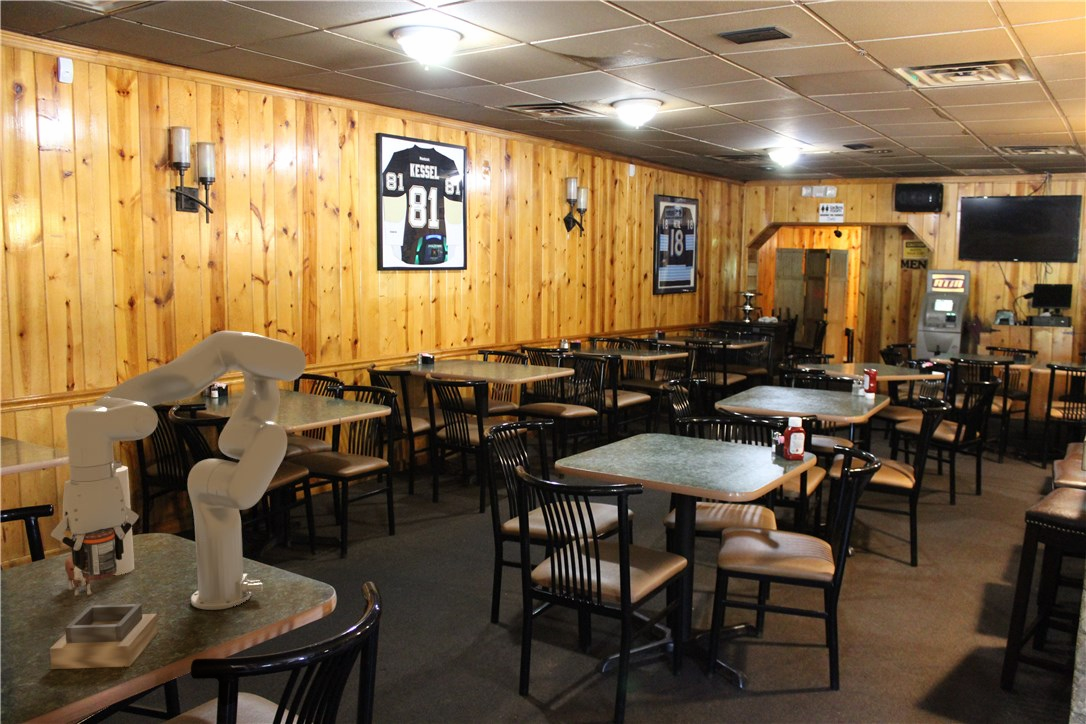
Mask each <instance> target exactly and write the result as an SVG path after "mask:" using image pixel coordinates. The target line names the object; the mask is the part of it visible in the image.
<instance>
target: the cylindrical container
mask: <svg viewBox="0 0 1086 724" xmlns="http://www.w3.org/2000/svg"><path fill="white" fill-rule="evenodd" d="M115 474H117V475H118V476H119V479H120V482H121V486H122V490H123V494H124V500H125V506H126V507H127V508H129V509H130V510H132V509H131V493H130V482H129V481H130V480H129V467H128V466H126V465H122V467H121V468H118V469H116V473H115ZM126 519H127V515H126ZM120 526H121V525H120ZM132 528H133V527H131V528H130V530H129V531H128V532H127V533H126V535H125V538H124V539H123V548H124V553H123V554H122V560H117V559H116V565H117V571H116V573H115V574H113V575H116V576H121V574H122V575H125V573H126V574H127V573H130V572H132V571H134V570H135V556H134V543H133V542H134V541H133V540H134V539H133V529H132Z"/></svg>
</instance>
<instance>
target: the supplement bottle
mask: <svg viewBox="0 0 1086 724" xmlns="http://www.w3.org/2000/svg"><path fill="white" fill-rule="evenodd" d="M81 547H82V549H84V555H85V569H84V570H82V575H83V577H84V578H85V579H88V580H90V581H97V580H102V579H108V578H110V577H113V576H112V575H113V574H115V573H116V571H117V565H116V549H115V535H114V530H113V528H109V529H108V528H107V529H100V530H97V531H94V532H91V533H88V534H85V536H84V539H83V542H82V545H81Z"/></svg>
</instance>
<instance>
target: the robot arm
mask: <svg viewBox="0 0 1086 724" xmlns="http://www.w3.org/2000/svg"><path fill="white" fill-rule="evenodd" d="M306 366H307V359H306V355H305V352H304V351H303V350H302V349H301V348H300V347H299V346H297V345H296V344H294V343H290V342H287V341H282V340H279V339H274V338H270V337H268V336H264V335H260V334H256V333H253V332H246V331H245V332H244V331H233V330H220V331H217V332H214V333H212V334H210V335H208V336H207V337H206V338H204V339H203V340H201V341H200V342H198V343H197V344H195V345H194V346H193V347H191V348H190V349H188V350H186V351H185V352H184V353H182V354H181V355H179V356H178V357H176V358H175V359H172V361H170V362H169V363H167V364H163V365H160V366H158V367H155V368H153V369H151V370H148V371H146V372H142V373H140V374H138V375H136V376H133V377H131V378H129V379H126V380H125V381H123V382H121V383H119V384H118V385H116V386H115V387H113V388H112V389H110V390H109V391H107V392H106V393H105V394H103V395H102V396H100V398H97V400H96V401H95V402H94V403H93V405H89V406H87V405H86V406H79V407H75V408H72V409H70V410H68V411H67V412H66V415H65V429H66V431H65V432H66V441H67V457H68V467H69V468H68V469H69V480H66V481H65V482H64V487H63V488H64V489H63V495H62V496H63V499H62V519H61V520H60V522H59V523H58V524H57V525H56V527H54V529H53V530H52V531H51V533H50V536H51V537H53V538H54V539H56V540H57V541H59V542H61V543H63V544H65V545H66V546H68V547H69V548H71V555H72V561H73V565H75V566H76V567H77V568H79V569H80V570H84V569H85V555H84V549H82V547H81V545H82V542H83V539H84V536H85V534H88V533H91V532H94V531H97V530H100V529H107V528H108V529H109V528H113V530H114V535H115V549H116V559H117V560H122V554H123V553H124V548H123V539H124V538H125V535H126V533H127V532H128V531H129V530H130V528H131V527H132V526H133V525H135V523H136V522H137V520H138V519H139V514H137V513H136V512H134V511H133V510H132V509H131V508H130V509H131V510H130V509H129V508H127V507H126V506H125V500H124V494H123V490H122V486H121V482H120V479H119V476H118V475H117V474H115V473H116V469H118V468H121V467H122V466H123V463H122V460H116V459H115V457H114V456H115V455H114V443H115V442H123V441H124V442H126V441H128V442H129V441H137V440H138V441H139V440H142V439H145V438H146V437H149V436H150V435H152V433H154V431H155V430H156V428H157V427H158V422H159V418H158V413H157V411H156V410H155V409H154V408H153V407H155V406H157V405H158V406H159V405H161V404H166V403H169V402H177V401H183V400H187V399H189V398H192V397H195V396H198V395H199V394H200V393H202V392H203V391H204V390H205V389H207V388H208V387H210V386H211V385H212V384H214V383H215V382H217V381H218V380H219V379H221V378H222V377H223V376H225V375H226V374H227V373H229V372H231V371H234V372H235V371H236V372H241V373H242V376H243V383H244V387H243V388H244V389H243V394H242V396H241V398H240V400H239V402H238V404H237V405H236V407H235V409H234V411H233V412H232V414H231V415H230V417H229V419H228V420H227V422H226V424H225V426H224V427H223V429H222V431H221V432H220V435H219V438H218V443H217V444H218V448H219V450H220V452H221V453H222V454H224V455H225V456H227V457H229V458H231V459H232V458H233V459H235V460H239V462H234V461H230V460H225V459H220V458H207V459H203V460H201V461H198V462H197V463H196V464H194V465H193V467H192V468H191V470H190V471H189V473H188V477H187V491H188V496H189V500H190V503H191V507H192V511H193V519H194V520H193V522H194V536H195V538H194V540H195V553H196V554H195V555H196V575H197V590H196V591H195V592H194V593H193V594H192V595H191V596H190V602H191V603H190V604H191V605H192V606H193V607H195V608H197V609H200V610H208V611H210V610H211V611H213V610H214V611H215V610H225V609H229V608H230V609H231V608H233V606H234V607H237V606H239V605H241V603H242V604H244V603H245V602H247V601H249V599H250V598H251V597H250V596H252V595H253V593H262V592H263V591H264V583H263V582H261V580H260V579H254V580H250V579H249V578H248V573H244V559H243V556H244V555H243V537H242V535H243V533H242V520H241V514H240V511H241V510H242V511H243V510H248V509H250V508H252V507H254V506H255V505H256V504H257V503H258V502H259V501H260V500H261V499H262V498H263V495H264V494H265V492H266V491H267V489H268V487H269V485H270V483H271V481H272V480H273V478H274V477H275V474H276V472H277V471H278V468H279V467H280V465H281V464H282V462H283V460H284V458H285V456H286V453H287V449H288V436H287V432H286V430H285V429H284V427H283V426H281V425H280V424H279V423H277V422H275V421H274V419H275V418H276V415H277V413H278V411H279V408H280V406H281V405H280V404H281V395H280V394H281V393H280V389H279V385H278V381H281V382H292V381H295V380H297V379H299V377H301V376H302V375H303V374H304V373H305V370H306ZM126 515H127V519H126ZM120 525H121V526H120ZM132 528H133V527H132ZM65 531H67V532H70V533H71V535H70V537H69V536H67V535H65V534H64V532H65ZM251 594H252V595H251ZM246 600H247V601H246ZM243 602H244V603H243ZM236 605H237V606H236Z"/></svg>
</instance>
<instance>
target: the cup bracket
mask: <svg viewBox="0 0 1086 724" xmlns="http://www.w3.org/2000/svg"><path fill="white" fill-rule="evenodd" d="M158 628H159V627H158V615H157V613H143V604H142V603H134V604H133V603H132V604H131V603H130V604H129V603H128V604H99V605H98V604H97V605H96V604H95V605H88V606H87V607H86V608H85V609H84V610H83V611H81V613H80V614H78V615H77V616H76V618H74V619H73V620H72V621H71V622H70V623H68V625H67V626H66V627H65V628H64V629H65V630H64V631H65V634H64V635H63V636H61V637H60V638H59V639H58V640H57V641H56V642H55V643H54V644H53V645H52V646H51V647H50V648H49V655H50V656H49V657H50V667H51V670H58V669H59V670H60V669H62V670H63V669H66V670H67V669H85V668H86V669H87V668H88V669H91V668H115V667H116V668H120V667H121V668H123V667H124V666H125V667H131V665H132V664H133V663H134V662H135V661H136V659H137V658H138V657H139V656H140V655H141V653H142V652H143V651H144V650H145V649H146V647H147V646H148V645H149V644H150V643H151V641H152V640H154V638H155V637H156V635H157V634H158V633H159V631H158V630H159V629H158Z"/></svg>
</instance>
